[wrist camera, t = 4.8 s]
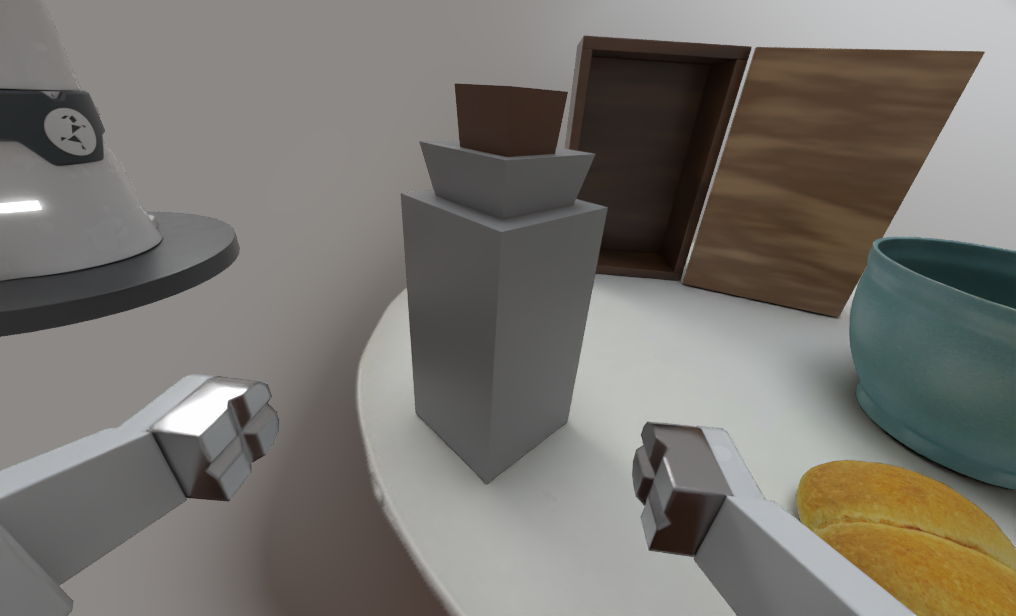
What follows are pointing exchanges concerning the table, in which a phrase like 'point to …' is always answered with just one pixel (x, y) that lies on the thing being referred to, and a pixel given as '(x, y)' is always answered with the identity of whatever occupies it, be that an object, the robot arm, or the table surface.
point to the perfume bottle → (499, 275)
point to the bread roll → (911, 537)
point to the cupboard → (650, 142)
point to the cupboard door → (820, 168)
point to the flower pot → (940, 351)
